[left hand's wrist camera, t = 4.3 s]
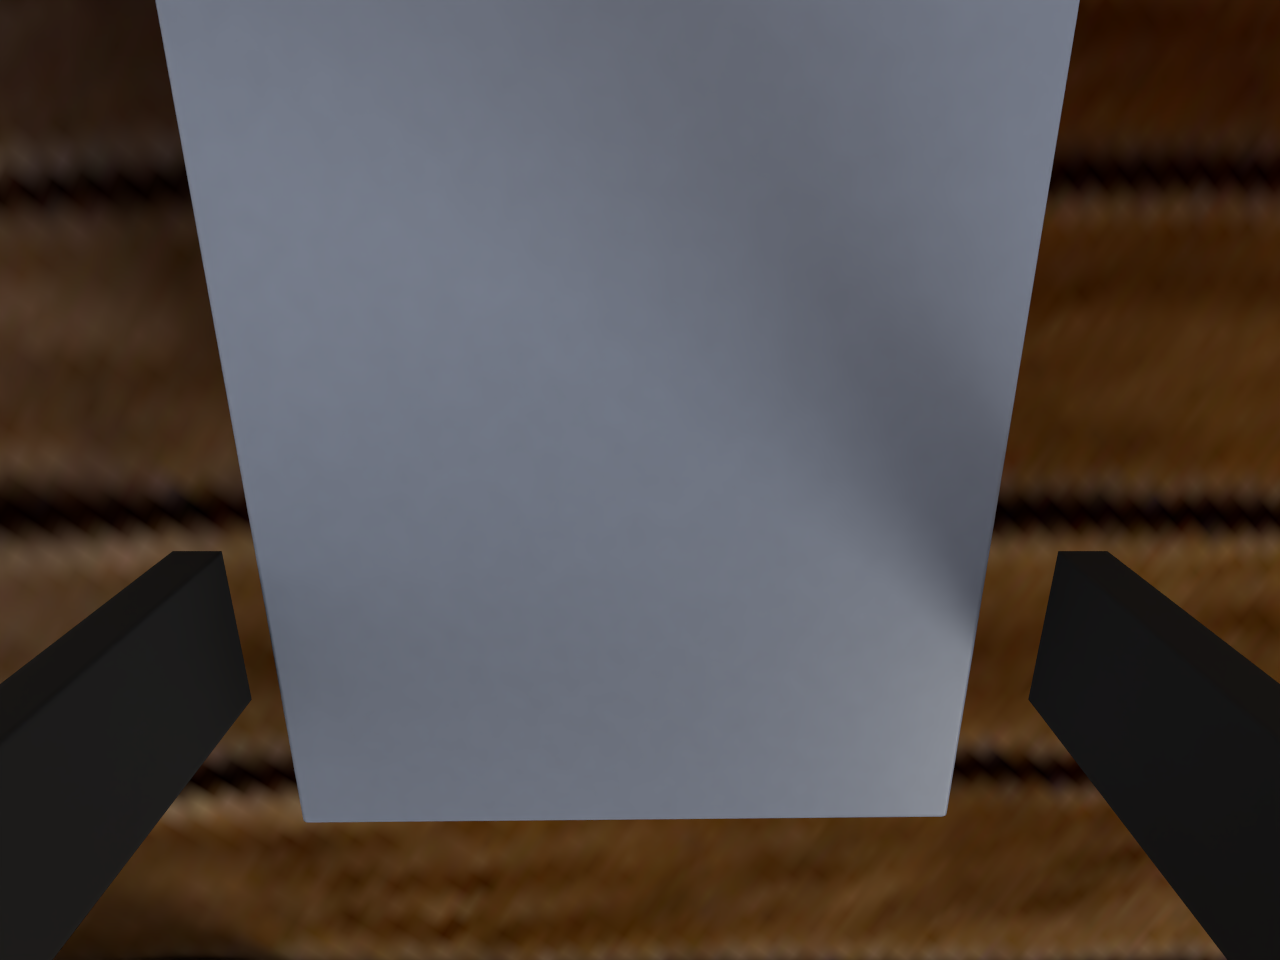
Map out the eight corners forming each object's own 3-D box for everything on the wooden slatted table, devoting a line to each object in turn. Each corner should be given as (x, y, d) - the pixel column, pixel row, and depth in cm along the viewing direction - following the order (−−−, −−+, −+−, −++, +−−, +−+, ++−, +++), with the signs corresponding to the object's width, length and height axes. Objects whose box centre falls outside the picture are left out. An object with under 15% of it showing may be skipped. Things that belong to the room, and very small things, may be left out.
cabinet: (326, -451, 15) (-94, -1348, 6) (914, -445, 15) (1298, -1314, 6) (429, 581, 22) (302, 824, 13) (824, 579, 22) (947, 818, 14)
